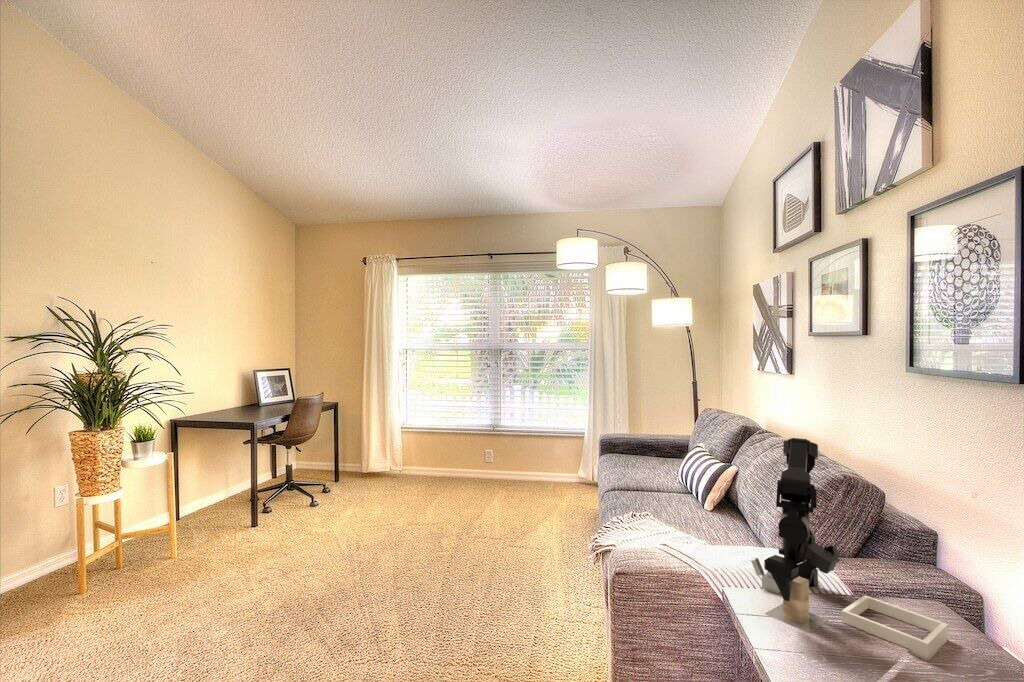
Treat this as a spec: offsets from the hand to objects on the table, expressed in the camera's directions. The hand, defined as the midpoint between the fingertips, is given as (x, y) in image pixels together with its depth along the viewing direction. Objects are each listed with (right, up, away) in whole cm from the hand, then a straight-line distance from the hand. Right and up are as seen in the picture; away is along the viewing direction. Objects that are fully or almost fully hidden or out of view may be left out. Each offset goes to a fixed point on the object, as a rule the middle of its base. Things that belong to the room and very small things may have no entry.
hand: (796, 595), depth 116 cm
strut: (0, -5, 0) cm, 5 cm away
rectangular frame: (+20, -6, -5) cm, 21 cm away
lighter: (0, -7, +15) cm, 16 cm away
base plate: (0, -6, 0) cm, 6 cm away
